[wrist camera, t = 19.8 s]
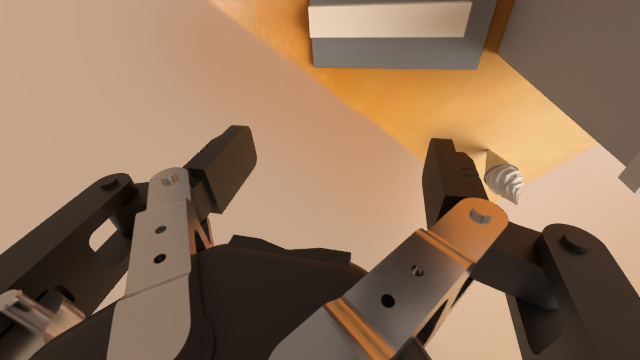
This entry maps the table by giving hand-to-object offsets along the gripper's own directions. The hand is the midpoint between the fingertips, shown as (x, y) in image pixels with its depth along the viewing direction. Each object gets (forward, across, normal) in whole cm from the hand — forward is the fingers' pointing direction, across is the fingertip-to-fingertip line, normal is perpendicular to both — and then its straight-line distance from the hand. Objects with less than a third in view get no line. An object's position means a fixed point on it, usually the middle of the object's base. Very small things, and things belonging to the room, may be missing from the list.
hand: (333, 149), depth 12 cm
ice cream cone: (+38, -22, +22) cm, 49 cm away
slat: (+37, -1, 0) cm, 37 cm away
